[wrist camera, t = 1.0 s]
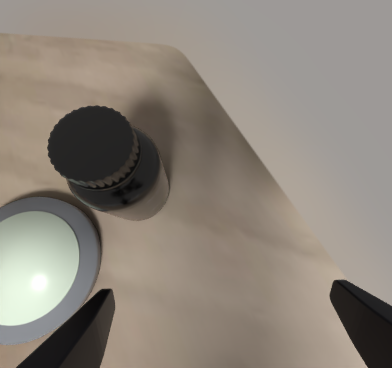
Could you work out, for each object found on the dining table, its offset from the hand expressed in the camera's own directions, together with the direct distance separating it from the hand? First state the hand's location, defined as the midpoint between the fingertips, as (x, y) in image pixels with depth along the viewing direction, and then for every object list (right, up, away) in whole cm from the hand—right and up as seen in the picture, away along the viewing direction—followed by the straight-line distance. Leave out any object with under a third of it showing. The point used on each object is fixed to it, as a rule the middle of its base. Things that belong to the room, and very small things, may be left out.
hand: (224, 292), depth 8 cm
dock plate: (-17, -4, +12) cm, 21 cm away
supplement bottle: (-7, +3, +15) cm, 17 cm away
